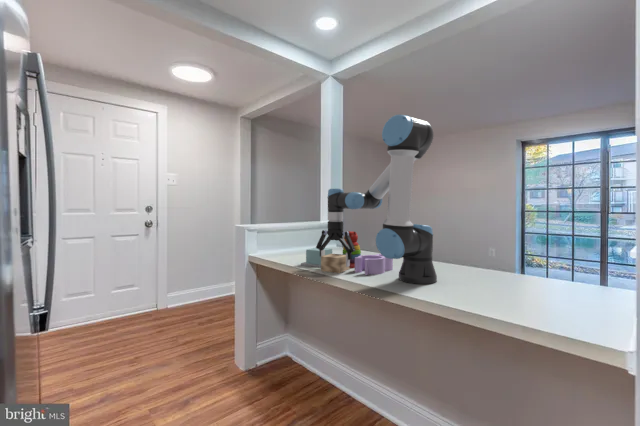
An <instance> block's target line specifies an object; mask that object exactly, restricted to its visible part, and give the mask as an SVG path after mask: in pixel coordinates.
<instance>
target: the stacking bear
mask: <svg viewBox="0 0 640 426" xmlns="http://www.w3.org/2000/svg"><path fill="white" fill-rule="evenodd" d="M348 231H349V235H350V238H351V241H352V243H353V245H354V248H355V251H354V252H352V256H351V260H350V266H349V269H355V257H358V256H361V255H362V252H361V247H360V244H359V243H358V242H357V241H358V239H359V237H358V236H359V235H358V234H357V232H356V231H350V230H348ZM343 236H344V235H343ZM343 238H344V240H345V242H346V243H347V241H346V238H345V236H344V237H343ZM347 244H348V243H347ZM348 246H349V245H348ZM342 247H343V246H342ZM346 253H347V251H346V249H345V248H344V247H343V248H342V255H346Z"/></svg>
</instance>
